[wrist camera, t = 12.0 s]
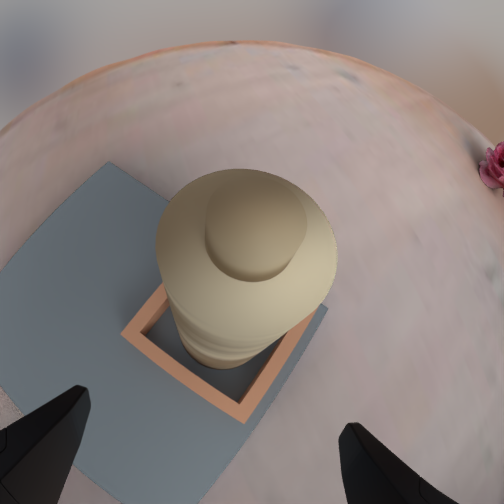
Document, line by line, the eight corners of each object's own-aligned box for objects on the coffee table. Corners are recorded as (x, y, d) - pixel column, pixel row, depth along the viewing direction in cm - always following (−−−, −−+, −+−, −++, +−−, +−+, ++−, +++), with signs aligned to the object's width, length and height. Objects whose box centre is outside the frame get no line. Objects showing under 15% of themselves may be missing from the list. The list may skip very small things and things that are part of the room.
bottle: (278, 342, 18) (390, 253, 7) (207, 385, 16) (221, 368, 6) (234, 275, 20) (280, 124, 9) (164, 312, 18) (119, 181, 7)
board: (323, 312, 21) (337, 301, 18) (172, 527, 12) (169, 543, 10) (111, 169, 23) (105, 148, 21) (-31, 329, 15) (-50, 320, 13)
